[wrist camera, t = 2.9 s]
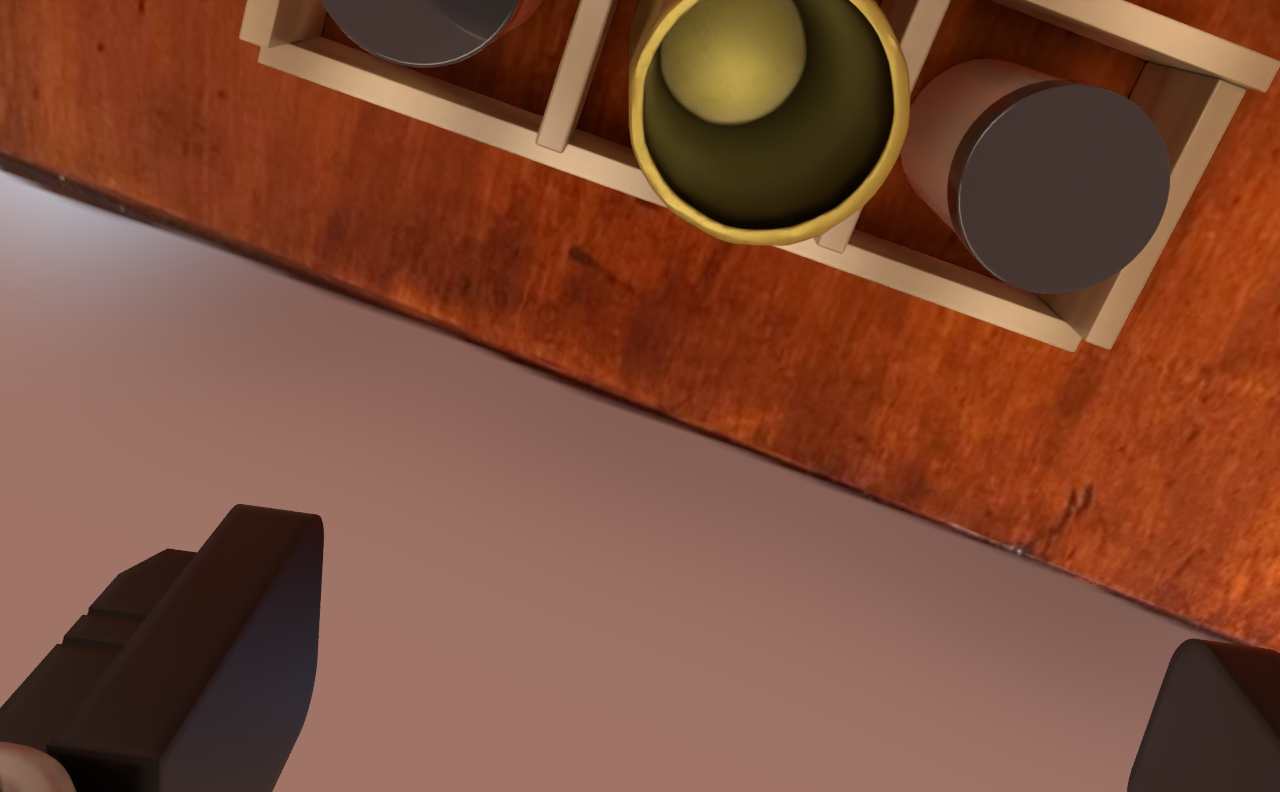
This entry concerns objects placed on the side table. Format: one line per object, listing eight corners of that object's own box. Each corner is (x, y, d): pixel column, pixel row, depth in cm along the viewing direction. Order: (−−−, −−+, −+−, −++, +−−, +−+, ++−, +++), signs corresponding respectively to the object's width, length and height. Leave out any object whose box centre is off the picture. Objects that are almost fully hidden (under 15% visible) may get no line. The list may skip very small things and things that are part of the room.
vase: (589, 78, 35) (540, 155, 22) (705, -108, 34) (728, -145, 20) (755, 191, 37) (805, 330, 23) (877, 18, 35) (1007, 60, 21)
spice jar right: (870, 190, 36) (923, 254, 29) (938, 30, 35) (1014, 52, 27) (1018, 244, 37) (1109, 322, 29) (1093, 89, 35) (1210, 127, 28)
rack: (289, 53, 35) (217, 73, 30) (366, -274, 32) (302, -320, 27) (1044, 323, 38) (1109, 388, 32) (1184, 43, 35) (1283, 61, 29)
